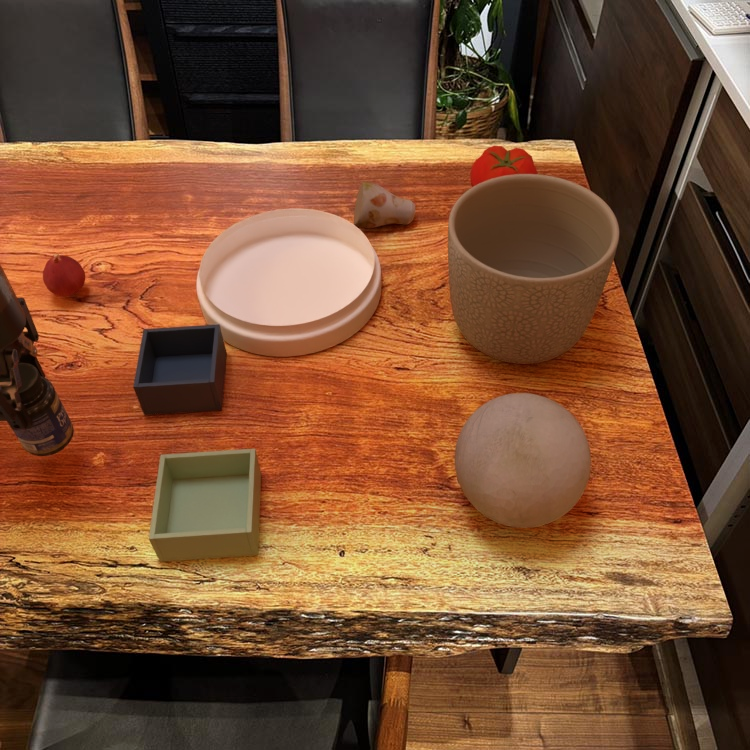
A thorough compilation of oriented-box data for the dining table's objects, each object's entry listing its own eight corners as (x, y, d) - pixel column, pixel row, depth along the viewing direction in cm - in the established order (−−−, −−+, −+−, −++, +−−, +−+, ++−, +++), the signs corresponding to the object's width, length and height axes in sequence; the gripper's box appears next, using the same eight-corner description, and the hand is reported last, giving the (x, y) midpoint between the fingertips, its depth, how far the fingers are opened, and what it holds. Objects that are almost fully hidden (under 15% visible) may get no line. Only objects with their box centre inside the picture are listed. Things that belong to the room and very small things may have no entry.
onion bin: (159, 562, 91) (148, 538, 87) (170, 479, 99) (160, 454, 95) (258, 555, 91) (251, 532, 87) (261, 473, 99) (255, 448, 95)
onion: (44, 298, 120) (25, 258, 114) (73, 276, 123) (56, 236, 117) (70, 313, 118) (52, 273, 112) (99, 291, 121) (83, 250, 115)
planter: (438, 281, 120) (443, 175, 106) (578, 277, 120) (601, 170, 105) (448, 388, 107) (454, 283, 92) (605, 384, 106) (636, 278, 92)
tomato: (458, 202, 132) (461, 164, 127) (488, 168, 138) (491, 130, 133) (517, 223, 129) (522, 184, 123) (545, 187, 135) (551, 148, 129)
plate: (207, 372, 110) (199, 345, 106) (195, 247, 127) (188, 219, 123) (399, 339, 113) (399, 311, 109) (362, 221, 130) (360, 193, 126)
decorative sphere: (456, 553, 91) (463, 480, 80) (447, 445, 101) (453, 366, 89) (589, 551, 91) (615, 477, 79) (568, 443, 100) (588, 363, 89)
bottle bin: (144, 415, 105) (132, 387, 101) (153, 357, 112) (143, 328, 107) (222, 410, 105) (214, 382, 101) (226, 353, 112) (219, 324, 108)
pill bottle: (82, 443, 96) (52, 384, 87) (31, 466, 94) (-4, 408, 85) (65, 409, 99) (35, 349, 91) (16, 431, 97) (-20, 372, 89)
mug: (421, 235, 128) (392, 199, 120) (368, 250, 132) (337, 217, 124) (422, 197, 131) (393, 160, 123) (370, 214, 135) (339, 179, 128)
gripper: (-47, 250, 83) (11, 357, 96) (-91, 353, 74) (-20, 457, 87) (26, 247, 83) (75, 354, 96) (-9, 349, 74) (50, 453, 87)
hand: (30, 402), depth 91 cm, fingers closed on pill bottle, 6 cm apart
